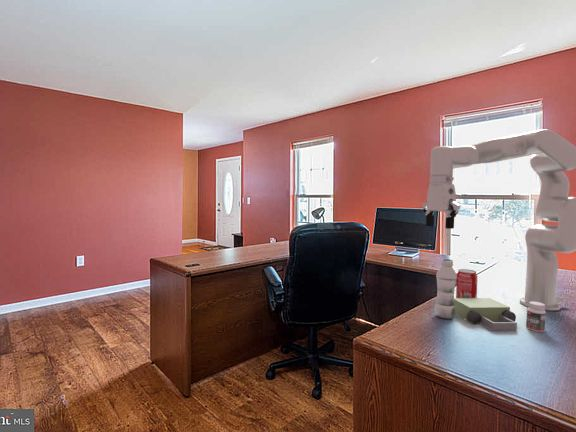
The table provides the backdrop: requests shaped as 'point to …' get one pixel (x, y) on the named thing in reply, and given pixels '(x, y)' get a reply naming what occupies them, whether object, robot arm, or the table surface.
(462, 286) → the soda can
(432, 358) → the table surface
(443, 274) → the metal bottle
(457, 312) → the cart
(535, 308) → the pill bottle
